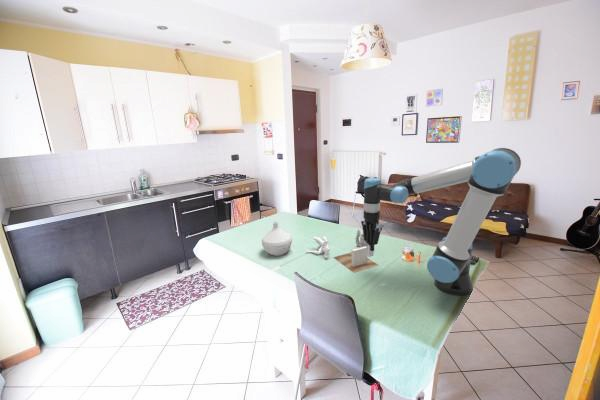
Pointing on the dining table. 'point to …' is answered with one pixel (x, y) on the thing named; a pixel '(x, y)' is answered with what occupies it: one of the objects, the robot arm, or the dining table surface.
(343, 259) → the board
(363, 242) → the mug
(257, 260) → the dining table surface
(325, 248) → the person figurine
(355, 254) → the tile
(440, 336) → the dining table surface
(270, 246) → the vase
